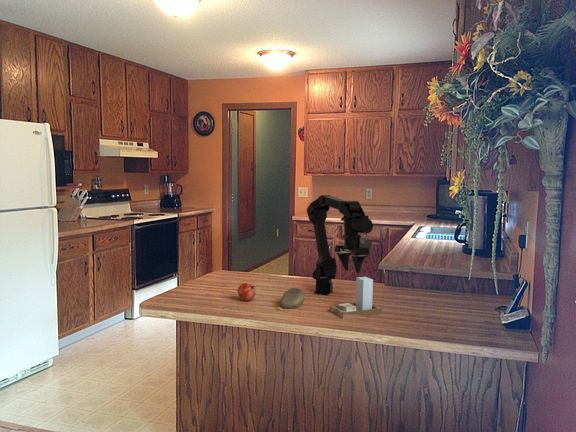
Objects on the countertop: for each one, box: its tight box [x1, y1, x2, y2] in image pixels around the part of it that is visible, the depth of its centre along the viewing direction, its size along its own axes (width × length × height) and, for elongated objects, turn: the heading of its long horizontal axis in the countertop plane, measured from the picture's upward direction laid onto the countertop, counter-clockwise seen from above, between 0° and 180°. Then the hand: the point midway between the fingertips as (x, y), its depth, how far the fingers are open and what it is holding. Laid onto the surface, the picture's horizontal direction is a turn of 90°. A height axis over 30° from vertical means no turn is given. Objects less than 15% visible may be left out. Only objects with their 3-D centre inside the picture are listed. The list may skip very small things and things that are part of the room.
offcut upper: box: [338, 302, 356, 312], centre depth 176 cm, size 5×4×2 cm
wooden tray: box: [329, 302, 383, 320], centre depth 177 cm, size 10×16×3 cm, turn 112°
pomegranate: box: [236, 282, 257, 302], centre depth 195 cm, size 7×7×10 cm
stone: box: [280, 287, 306, 310], centre depth 187 cm, size 9×14×10 cm, turn 171°
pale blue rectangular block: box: [355, 276, 374, 311], centre depth 178 cm, size 5×4×12 cm
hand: (352, 271), depth 190 cm, fingers open, 9 cm apart
